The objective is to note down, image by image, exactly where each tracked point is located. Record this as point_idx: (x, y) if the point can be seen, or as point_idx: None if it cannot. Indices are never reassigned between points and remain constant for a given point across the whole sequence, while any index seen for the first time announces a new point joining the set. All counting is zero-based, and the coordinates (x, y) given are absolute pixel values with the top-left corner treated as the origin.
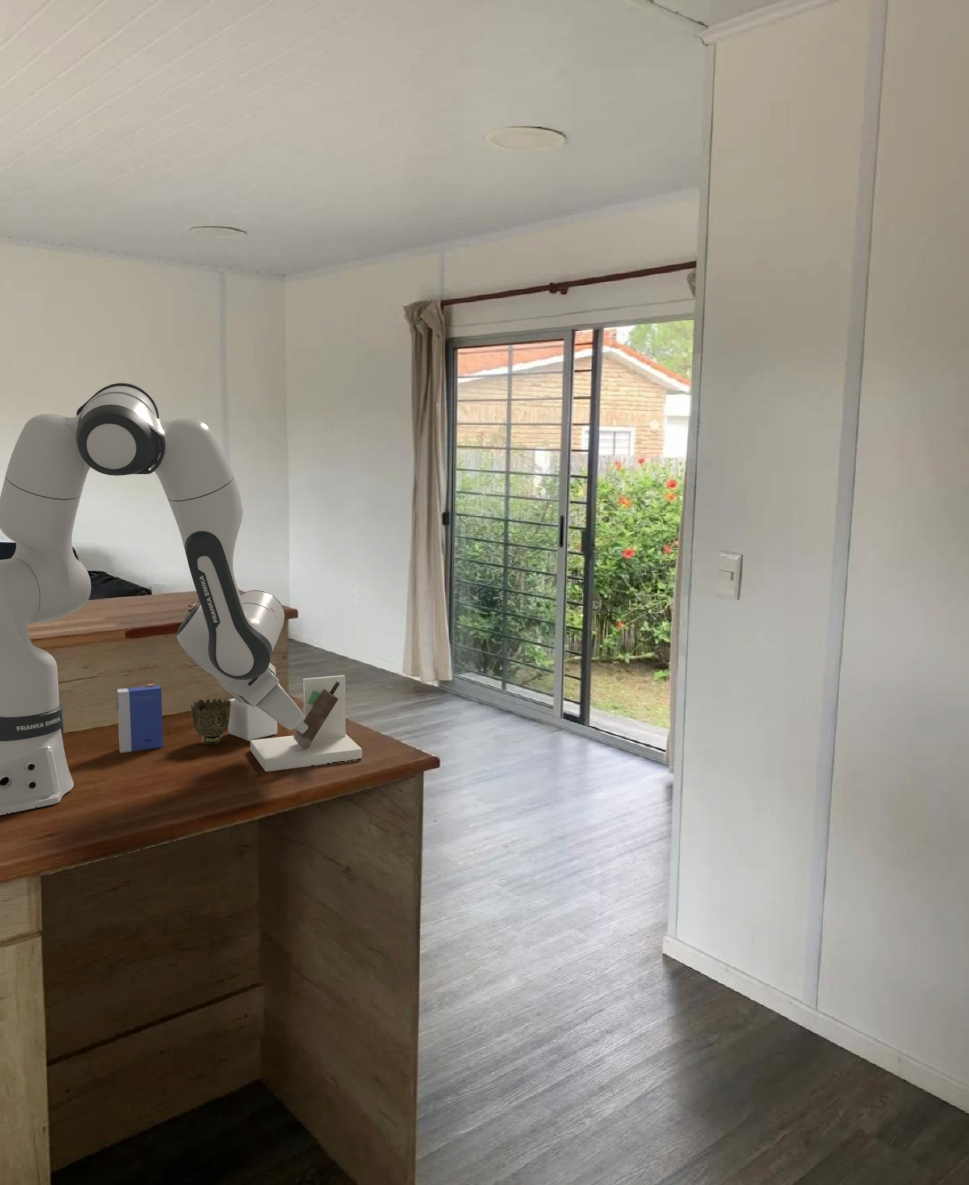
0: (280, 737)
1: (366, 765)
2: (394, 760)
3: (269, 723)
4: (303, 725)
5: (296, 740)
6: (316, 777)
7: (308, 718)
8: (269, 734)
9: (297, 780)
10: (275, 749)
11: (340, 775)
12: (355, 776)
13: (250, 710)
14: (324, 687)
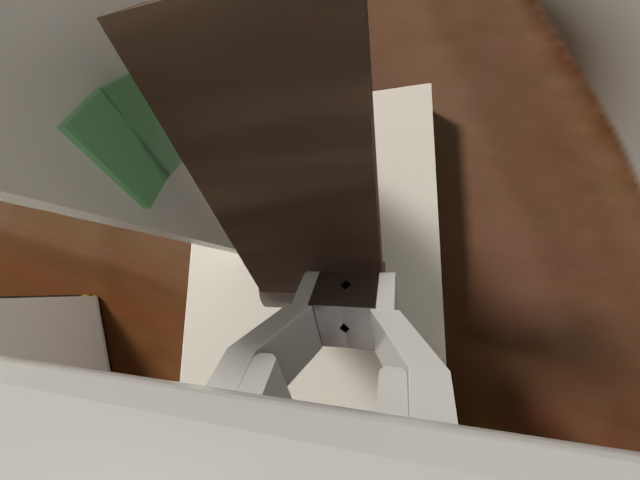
0: (190, 327)
1: (494, 103)
2: (471, 15)
3: (61, 327)
4: (396, 302)
5: None
6: (582, 297)
7: (268, 237)
8: (100, 323)
9: (599, 379)
10: (315, 392)
11: (585, 208)
12: (616, 159)
13: None
14: (55, 17)
